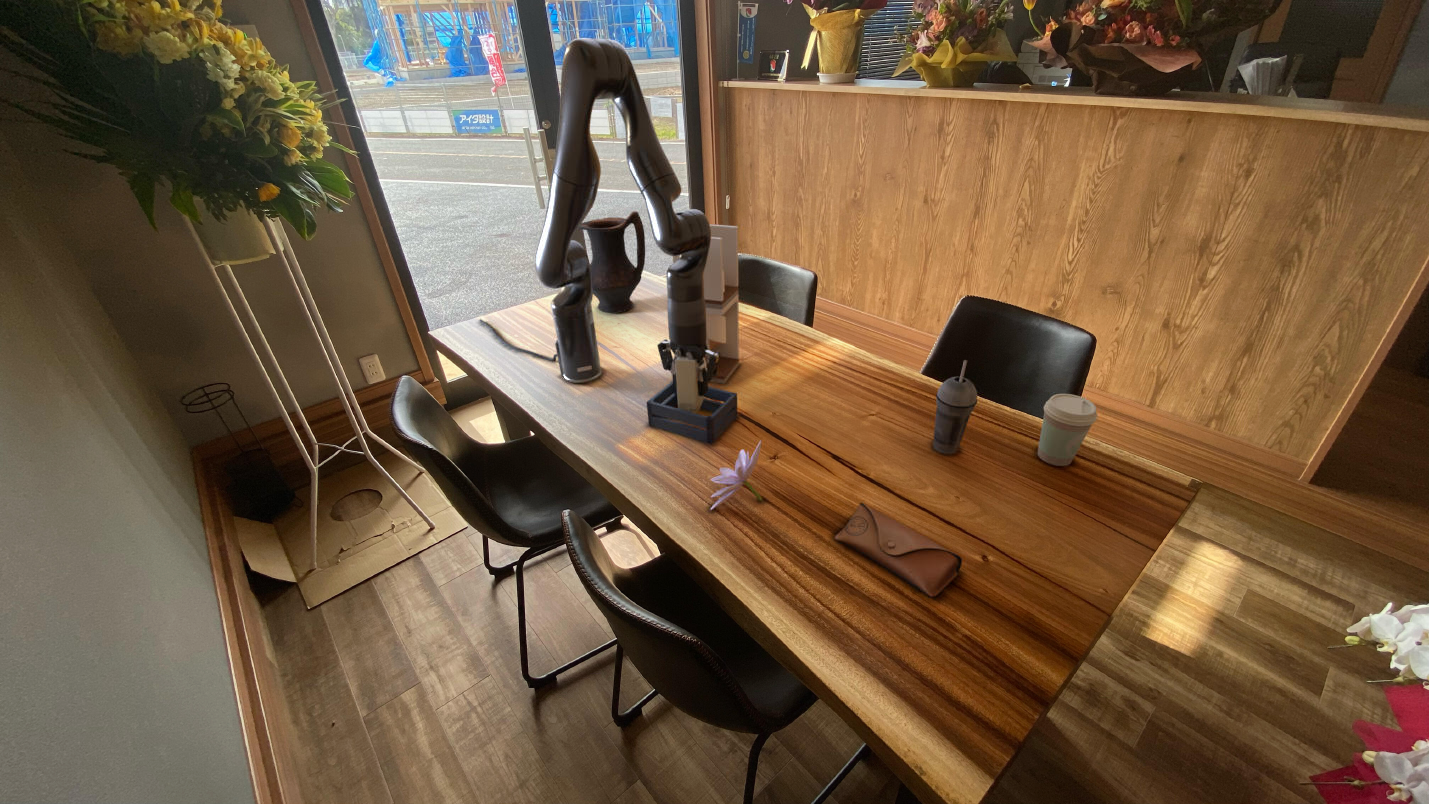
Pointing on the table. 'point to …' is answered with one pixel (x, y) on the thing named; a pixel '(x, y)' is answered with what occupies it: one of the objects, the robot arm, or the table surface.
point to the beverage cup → (953, 412)
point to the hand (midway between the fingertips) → (690, 391)
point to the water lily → (736, 476)
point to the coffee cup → (1065, 427)
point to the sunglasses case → (900, 550)
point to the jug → (614, 261)
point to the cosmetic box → (687, 385)
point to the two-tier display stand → (722, 299)
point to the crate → (693, 414)
